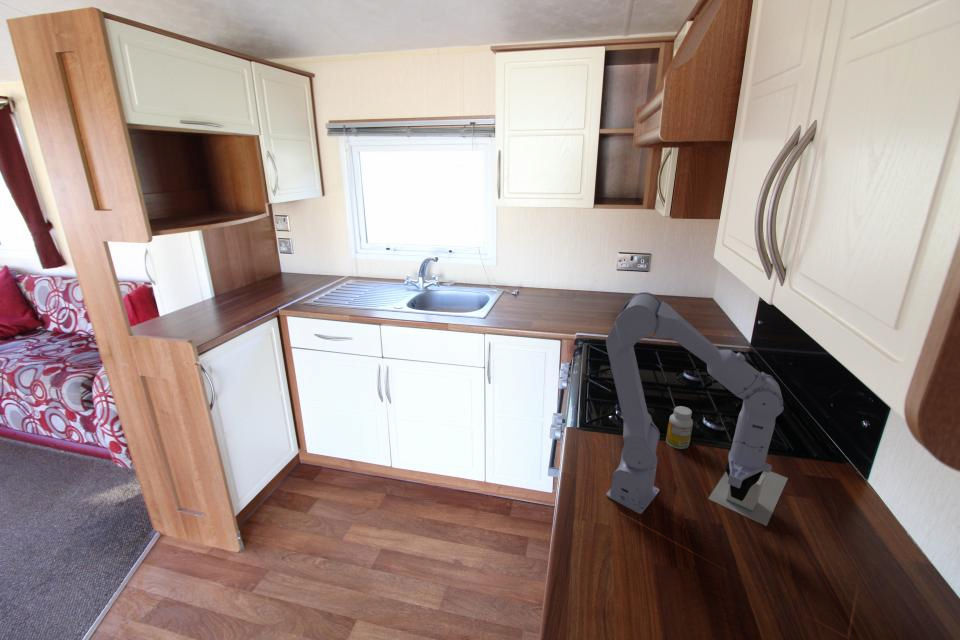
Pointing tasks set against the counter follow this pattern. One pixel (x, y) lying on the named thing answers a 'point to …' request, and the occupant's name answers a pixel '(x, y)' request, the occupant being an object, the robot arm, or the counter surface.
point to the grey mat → (766, 500)
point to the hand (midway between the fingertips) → (737, 497)
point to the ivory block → (748, 496)
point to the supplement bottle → (680, 428)
